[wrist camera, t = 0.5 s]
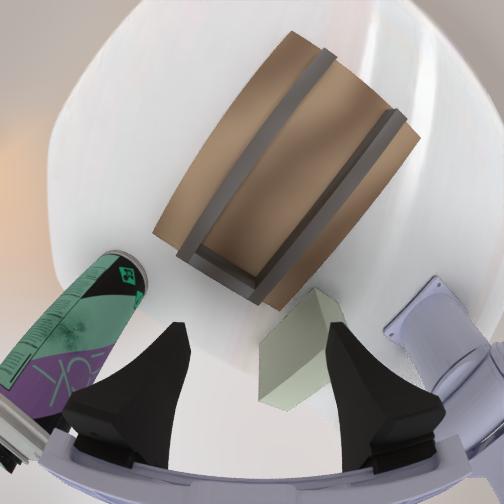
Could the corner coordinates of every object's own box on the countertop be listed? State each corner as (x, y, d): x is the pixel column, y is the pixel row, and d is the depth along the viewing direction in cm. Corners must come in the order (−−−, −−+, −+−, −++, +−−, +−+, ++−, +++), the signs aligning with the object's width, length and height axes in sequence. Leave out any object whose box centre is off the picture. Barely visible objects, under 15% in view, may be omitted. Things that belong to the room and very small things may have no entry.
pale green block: (338, 302, 23) (359, 357, 17) (283, 355, 26) (287, 411, 20) (314, 286, 23) (330, 342, 16) (259, 343, 26) (258, 401, 19)
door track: (413, 137, 17) (433, 139, 14) (278, 303, 23) (280, 324, 21) (289, 36, 14) (294, 21, 12) (157, 227, 21) (143, 242, 18)
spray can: (112, 304, 24) (12, 473, 6) (89, 256, 22) (-51, 416, 4) (157, 298, 24) (62, 506, 5) (134, 244, 22) (-22, 449, 3)
